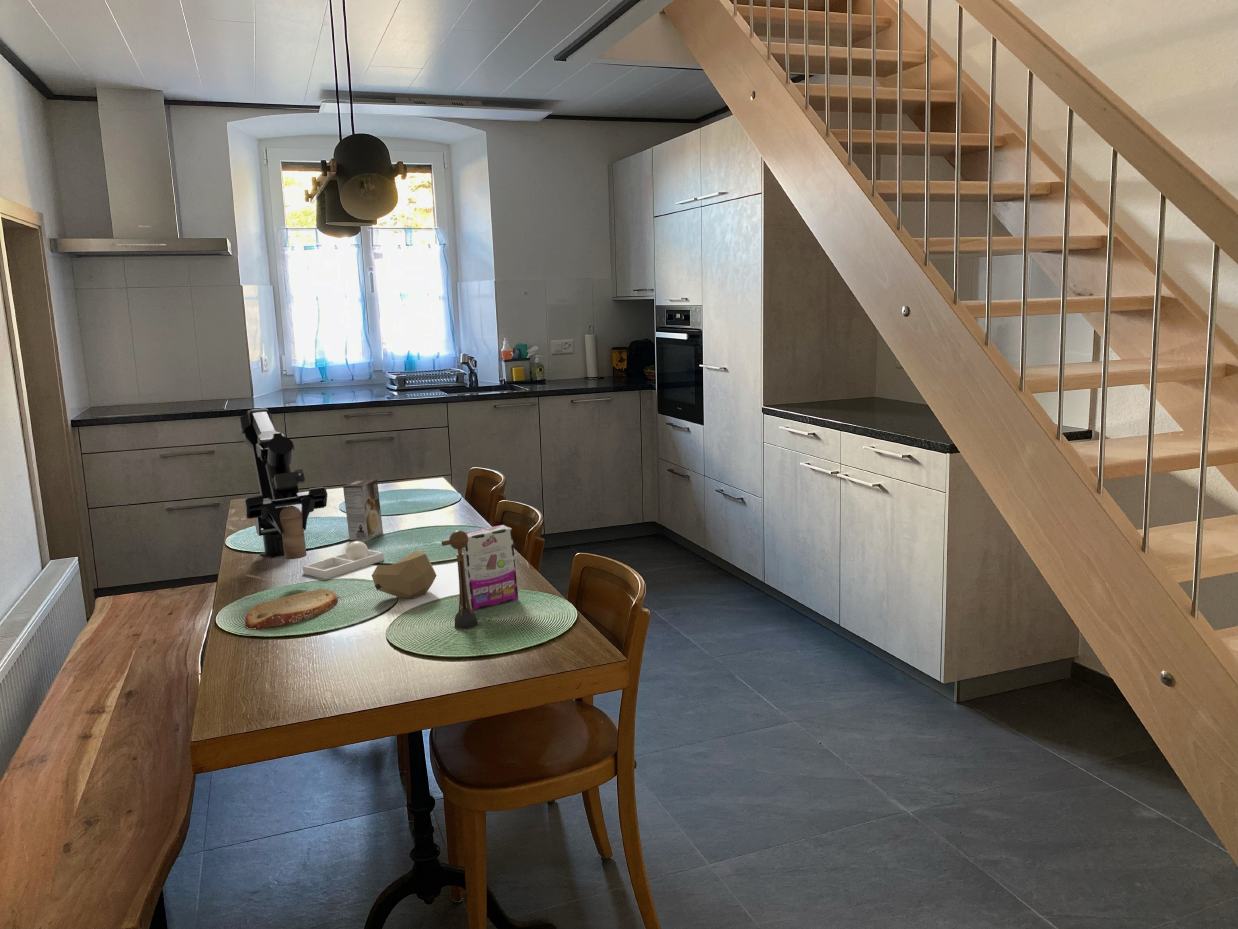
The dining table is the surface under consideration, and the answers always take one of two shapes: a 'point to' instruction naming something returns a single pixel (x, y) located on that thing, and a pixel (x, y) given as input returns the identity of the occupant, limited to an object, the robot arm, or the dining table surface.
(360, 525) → the coffee box
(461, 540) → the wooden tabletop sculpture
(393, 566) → the low-poly potato
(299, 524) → the brown domed cylinder
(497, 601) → the candy bar box
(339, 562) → the white divided tray
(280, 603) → the slice of bread
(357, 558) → the cream white ball
